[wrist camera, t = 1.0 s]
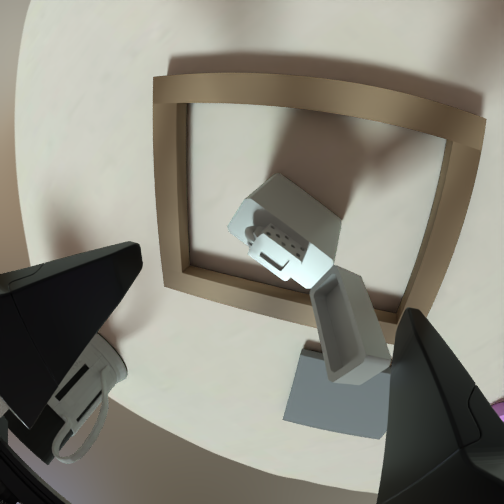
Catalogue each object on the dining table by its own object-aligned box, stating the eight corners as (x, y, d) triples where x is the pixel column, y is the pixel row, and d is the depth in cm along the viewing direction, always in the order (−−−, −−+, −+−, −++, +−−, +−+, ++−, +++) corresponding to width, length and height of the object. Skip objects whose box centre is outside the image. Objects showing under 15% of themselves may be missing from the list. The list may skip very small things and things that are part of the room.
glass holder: (61, 322, 31) (-17, 398, 19) (131, 325, 25) (23, 446, 13) (98, 374, 34) (33, 451, 22) (174, 391, 28) (97, 503, 16)
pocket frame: (478, 117, 10) (486, 118, 9) (410, 336, 16) (410, 347, 15) (164, 77, 14) (153, 76, 13) (172, 278, 20) (164, 286, 20)
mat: (425, 373, 17) (425, 379, 17) (380, 433, 21) (379, 439, 21) (302, 348, 19) (300, 354, 19) (284, 414, 24) (282, 419, 23)
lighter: (258, 197, 16) (176, 277, 9) (276, 171, 15) (198, 237, 8) (364, 278, 16) (354, 399, 9) (386, 256, 15) (393, 377, 8)
